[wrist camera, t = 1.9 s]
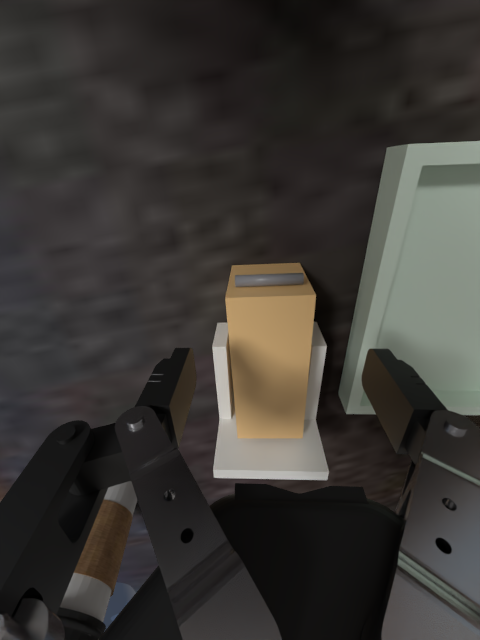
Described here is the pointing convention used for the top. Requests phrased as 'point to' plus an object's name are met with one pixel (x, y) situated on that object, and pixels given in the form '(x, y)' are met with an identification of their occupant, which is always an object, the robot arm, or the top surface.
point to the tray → (422, 275)
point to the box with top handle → (270, 347)
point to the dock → (267, 453)
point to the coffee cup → (98, 566)
